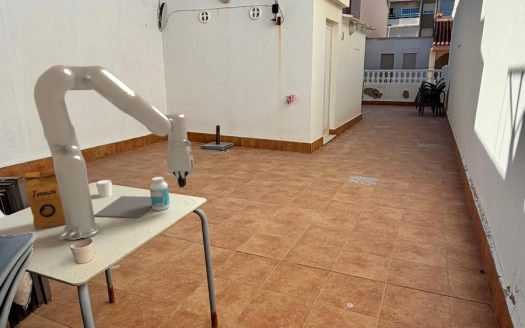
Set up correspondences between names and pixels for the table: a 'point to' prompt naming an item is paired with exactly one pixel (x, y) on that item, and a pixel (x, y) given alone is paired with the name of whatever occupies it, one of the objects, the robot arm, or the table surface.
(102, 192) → the white ridged cylinder
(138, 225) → the table surface
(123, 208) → the mat
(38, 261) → the table surface
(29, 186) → the coffee package
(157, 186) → the pill bottle
